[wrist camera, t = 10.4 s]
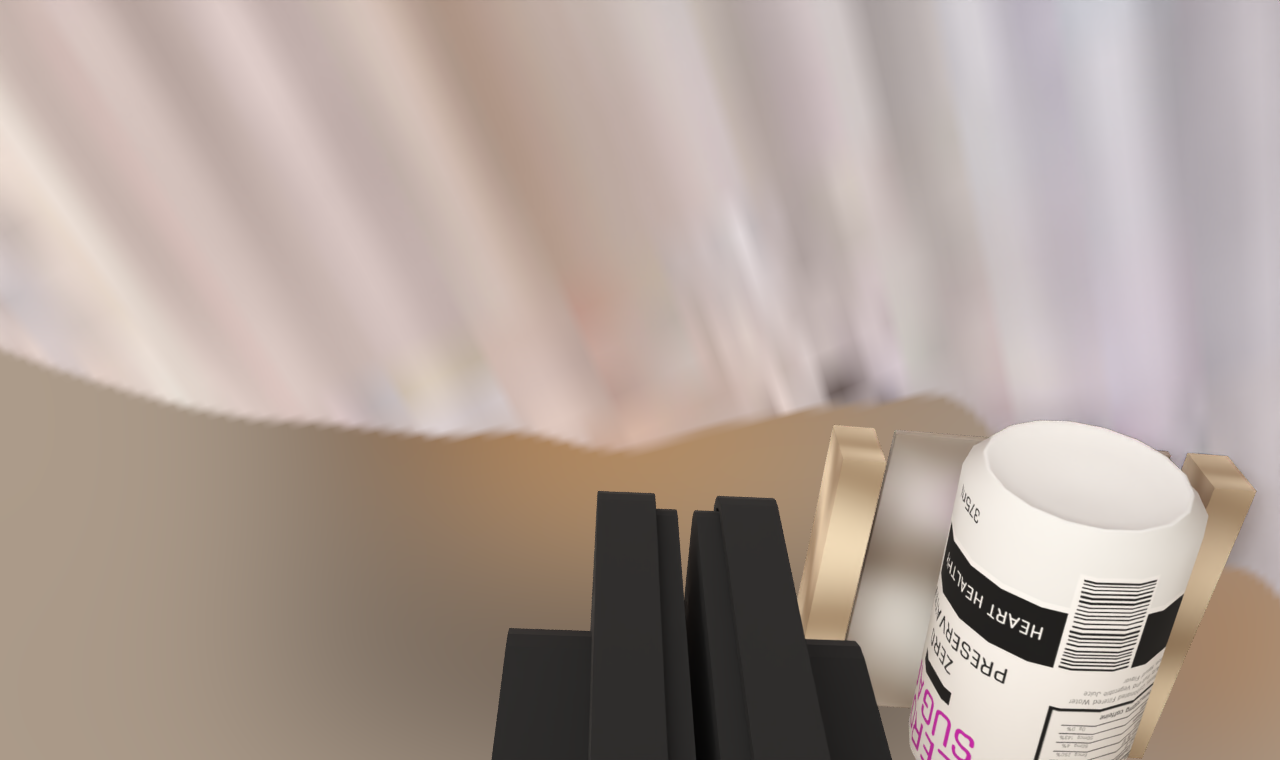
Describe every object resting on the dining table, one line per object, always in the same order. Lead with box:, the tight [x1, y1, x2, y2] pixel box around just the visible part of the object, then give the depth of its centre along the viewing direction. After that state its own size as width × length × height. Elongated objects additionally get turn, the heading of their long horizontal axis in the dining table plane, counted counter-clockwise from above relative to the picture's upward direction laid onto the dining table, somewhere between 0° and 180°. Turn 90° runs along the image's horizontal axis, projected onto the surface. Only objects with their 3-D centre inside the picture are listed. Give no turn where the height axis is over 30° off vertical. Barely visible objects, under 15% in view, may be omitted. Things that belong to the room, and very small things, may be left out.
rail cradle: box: [797, 425, 1256, 758], centre depth 47 cm, size 14×16×2 cm
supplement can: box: [909, 420, 1208, 760], centre depth 44 cm, size 8×8×15 cm
